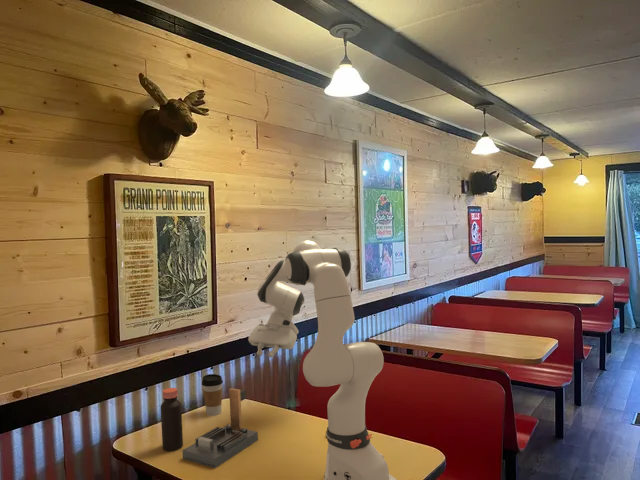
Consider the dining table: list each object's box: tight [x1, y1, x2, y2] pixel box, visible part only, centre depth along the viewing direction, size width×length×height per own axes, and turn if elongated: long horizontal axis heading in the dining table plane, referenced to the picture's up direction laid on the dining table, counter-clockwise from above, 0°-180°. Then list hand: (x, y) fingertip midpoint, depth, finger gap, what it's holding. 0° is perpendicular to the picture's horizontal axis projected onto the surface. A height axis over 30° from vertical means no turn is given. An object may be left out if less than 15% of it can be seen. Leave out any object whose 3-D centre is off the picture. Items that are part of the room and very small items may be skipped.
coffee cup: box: [201, 373, 224, 417], centre depth 199 cm, size 8×8×15 cm
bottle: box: [160, 387, 184, 452], centre depth 169 cm, size 7×7×20 cm
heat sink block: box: [182, 423, 259, 469], centre depth 166 cm, size 22×14×6 cm, turn 150°
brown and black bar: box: [228, 387, 247, 432], centre depth 174 cm, size 4×4×15 cm
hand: (264, 355), depth 187 cm, fingers open, 4 cm apart
